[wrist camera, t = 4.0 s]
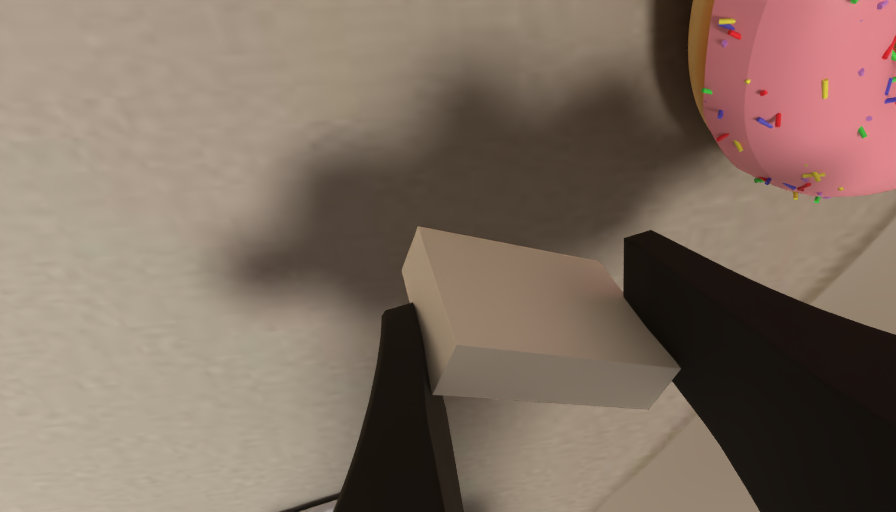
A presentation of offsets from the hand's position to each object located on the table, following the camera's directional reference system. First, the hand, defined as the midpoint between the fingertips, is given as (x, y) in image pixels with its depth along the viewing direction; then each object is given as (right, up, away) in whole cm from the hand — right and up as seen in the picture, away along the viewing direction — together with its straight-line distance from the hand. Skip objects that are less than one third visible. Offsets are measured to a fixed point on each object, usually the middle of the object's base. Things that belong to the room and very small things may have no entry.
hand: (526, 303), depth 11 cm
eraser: (0, +1, +1) cm, 2 cm away
